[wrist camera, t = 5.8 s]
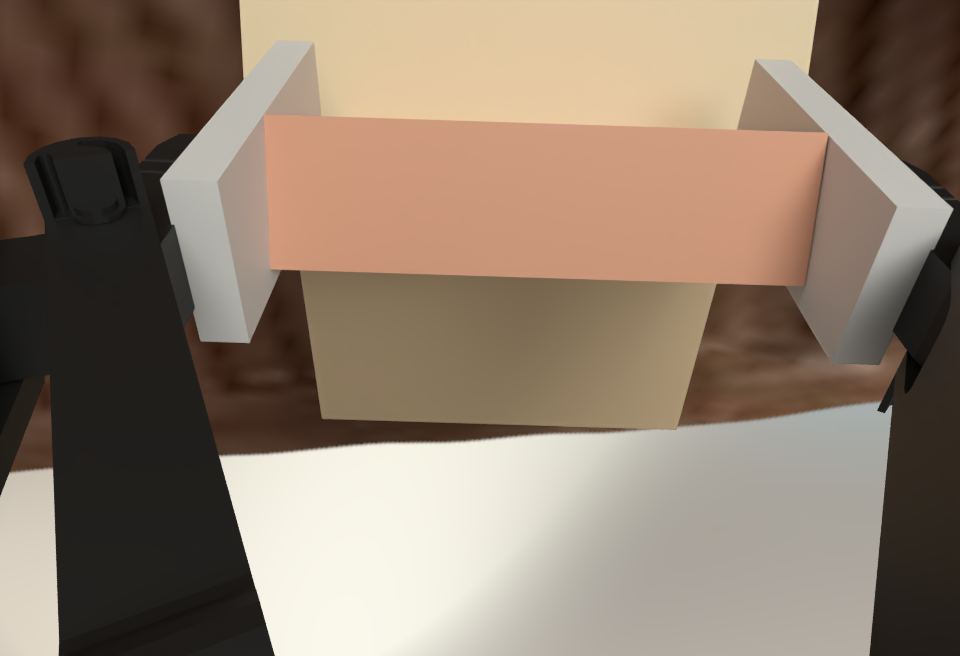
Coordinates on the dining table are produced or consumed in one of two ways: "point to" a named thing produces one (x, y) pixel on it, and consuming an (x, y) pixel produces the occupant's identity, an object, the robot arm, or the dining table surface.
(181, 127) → the dining table surface
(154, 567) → the robot arm
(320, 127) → the flap
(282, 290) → the dining table surface
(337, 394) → the carton
